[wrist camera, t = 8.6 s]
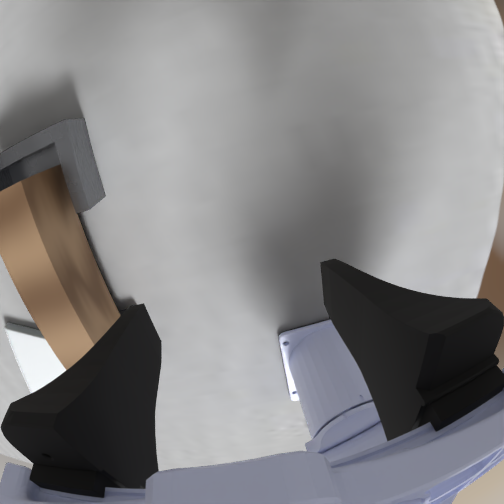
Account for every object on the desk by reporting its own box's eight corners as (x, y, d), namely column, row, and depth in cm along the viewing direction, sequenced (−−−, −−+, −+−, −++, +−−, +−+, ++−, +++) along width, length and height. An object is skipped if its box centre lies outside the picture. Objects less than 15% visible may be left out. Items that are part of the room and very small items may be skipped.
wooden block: (132, 338, 22) (120, 385, 18) (96, 344, 22) (79, 388, 18) (61, 163, 16) (20, 180, 12) (23, 181, 16) (-20, 202, 11)
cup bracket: (105, 196, 18) (90, 209, 16) (25, 225, 18) (4, 241, 15) (84, 118, 16) (64, 119, 13) (3, 158, 16) (-20, 166, 13)
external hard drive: (80, 333, 23) (101, 414, 28) (10, 318, 22) (40, 399, 27) (75, 345, 22) (98, 425, 27) (2, 328, 20) (36, 409, 25)
